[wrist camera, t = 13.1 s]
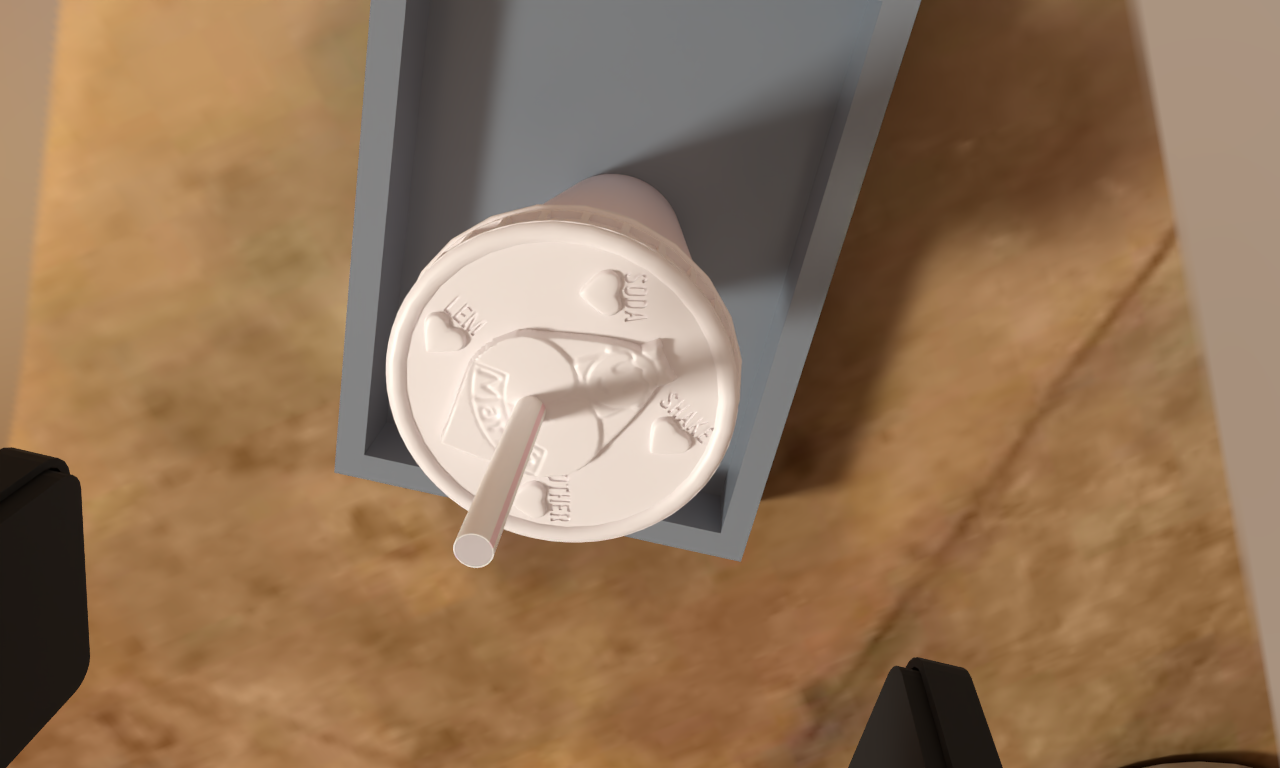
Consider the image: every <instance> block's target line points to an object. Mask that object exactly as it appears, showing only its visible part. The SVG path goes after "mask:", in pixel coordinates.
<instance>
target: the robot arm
mask: <svg viewBox="0 0 1280 768" xmlns="http://www.w3.org/2000/svg"><path fill="white" fill-rule="evenodd" d="M89 662H90V648H89V629H88V610H87V592H86V573H85V554H84V535H83V516H82V497H81V486H80V482H79V480H78V478H77V477H75V476H73V475H70V472H69V468H68V466H67V465H66V463H65V461H63V460H61V459H59V458H55V457H51V456H46V455H42V454H38V453H33V452H29V451H25V450H20V449H16V448H2V449H0V768H6V767H7V766H8V765H9V764H10V763H11V762H12V761H13V759H14V758H15V757H16V756H17V755H18V754H19V753H20V752H21V751H22V750H23V749H24V747H25V746H26V745H27V744H28V743H29V742H30V741H31V740H32V739H33V738H34V737H35V735H36V734H37V733H38V732H39V731H40V730H41V729H42V728H43V727H44V726H45V725H46V723H47V722H48V721H49V720H50V719H51V718H52V717H53V716H54V715H55V714H56V713H57V711H58V710H59V709H60V708H61V707H62V706H63V705H64V704H65V703H66V702H67V700H68V699H69V698H70V697H71V696H72V695H73V694H74V693H75V692H76V690H77V689H78V688H79V686H80V685H81V683H82V681H83V680H84V677H85V675H86V673H87V670H88V666H89ZM848 768H1003V767H1002V764H1001V761H1000V759H999V756H998V753H997V750H996V747H995V744H994V741H993V739H992V736H991V733H990V730H989V727H988V724H987V721H986V719H985V716H984V713H983V710H982V707H981V704H980V701H979V698H978V696H977V693H976V690H975V687H974V684H973V681H972V678H971V676H970V674H969V673H968V671H967V670H966V669H964V668H962V667H957V666H953V665H949V664H944V663H940V662H936V661H932V660H927V659H923V658H919V657H916V658H912V659H911V660H910V661H909V662H908V664H907V666H906V668H904V667H899V666H894V667H893V668H892V669H891V670H890V672H889V674H888V676H887V678H886V681H885V683H884V685H883V688H882V690H881V692H880V695H879V697H878V699H877V702H876V704H875V706H874V709H873V711H872V713H871V716H870V718H869V720H868V723H867V725H866V727H865V730H864V732H863V734H862V737H861V739H860V741H859V744H858V746H857V748H856V751H855V753H854V755H853V758H852V760H851V762H850V765H849V767H848ZM1143 768H1251V767H1247V766H1242V765H1238V764H1228V763H1214V762H1199V761H1197V762H1182V763H1166V764H1159V765H1154V766H1148V767H1143Z"/></svg>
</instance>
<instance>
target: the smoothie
mask: <svg viewBox="0 0 1280 768" xmlns="http://www.w3.org/2000/svg"><path fill="white" fill-rule="evenodd" d="M741 365H742V358H741V354H740V350H739V346H738V342H737V337H736V333H735V329H734V325H733V321H732V317H731V315H730V313H729V312H728V310H727V308H726V306H725V304H724V303H723V301H722V299H721V297H720V296H719V294H718V292H717V290H716V289H715V287H714V285H713V283H712V281H711V280H710V278H709V277H708V276H707V275H706V274H705V273H704V272H703V271H702V270H701V269H700V268H699V267H698V266H697V265H696V264H695V263H694V261H693V260H692V258H691V256H690V253H689V250H688V247H687V244H686V242H685V239H684V236H683V233H682V230H681V228H680V225H679V222H678V219H677V217H676V214H675V212H674V210H673V209H672V207H671V205H670V204H669V202H668V201H667V200H666V199H665V198H664V196H663V195H662V194H661V193H660V192H659V191H657V190H656V189H655V188H654V187H652V186H651V185H649V184H647V183H646V182H644V181H642V180H640V179H637V178H634V177H631V176H627V175H622V174H602V175H597V176H593V177H590V178H587V179H585V180H582V181H580V182H579V183H577V184H575V185H574V186H572V187H570V188H569V189H567V190H565V191H564V192H562V193H560V194H559V195H557V196H555V197H554V198H552V199H550V200H549V201H547V202H545V203H544V204H542V205H533V206H529V207H525V208H521V209H517V210H513V211H510V212H506V213H502V214H498V215H494V216H491V217H489V218H487V219H485V220H484V221H482V222H480V223H478V224H477V225H475V226H473V227H472V228H470V229H468V230H466V231H465V232H463V233H461V234H460V235H458V236H456V237H454V238H453V239H451V240H450V241H449V242H448V243H447V244H446V246H445V247H444V248H443V249H442V250H441V251H440V252H439V253H438V254H437V255H436V256H435V257H434V258H433V259H432V260H431V262H430V263H429V264H428V265H427V266H426V267H425V268H424V269H423V270H422V271H421V273H420V275H419V277H418V279H417V281H416V283H415V284H414V285H413V287H412V288H411V290H410V291H409V293H408V294H407V296H406V297H405V299H404V301H403V303H402V305H401V307H400V309H399V311H398V313H397V315H396V318H395V321H394V323H393V326H392V330H391V334H390V337H389V341H388V348H387V355H386V385H387V393H388V398H389V404H390V407H391V411H392V414H393V418H394V421H395V423H396V426H397V428H398V431H399V433H400V435H401V437H402V439H403V441H404V443H405V445H406V447H407V449H408V450H409V452H410V453H411V455H412V457H413V458H414V460H415V461H416V463H417V464H418V465H419V466H420V468H421V469H422V470H423V472H424V473H425V474H426V475H427V476H428V477H429V479H430V480H431V481H432V482H433V483H434V484H435V485H436V486H437V487H438V488H439V489H440V490H441V491H443V492H444V493H445V494H446V495H447V496H448V497H449V498H451V499H452V500H453V501H455V502H456V503H457V504H459V505H460V506H461V507H463V508H464V509H466V510H467V511H468V513H467V515H466V518H465V520H464V522H463V524H462V527H461V529H460V531H459V533H458V536H457V538H456V540H455V542H454V546H453V551H454V554H455V557H456V558H457V559H458V560H459V561H460V562H461V563H462V564H464V565H466V566H469V567H474V568H479V567H483V566H486V565H487V564H489V563H490V562H491V561H492V559H493V556H494V554H495V551H496V548H497V546H498V543H499V540H500V537H501V535H502V532H503V529H505V530H508V531H511V532H514V533H517V534H520V535H524V536H528V537H532V538H536V539H542V540H548V541H558V542H592V541H601V540H607V539H613V538H617V537H621V536H625V535H629V534H632V533H634V532H637V531H640V530H643V529H645V528H647V527H650V526H652V525H654V524H656V523H658V522H660V521H662V520H663V519H665V518H667V517H668V516H670V515H672V514H673V513H675V512H676V511H677V510H679V509H680V508H682V507H683V506H684V505H685V504H686V503H688V502H689V501H690V500H691V499H692V498H693V497H694V496H696V494H697V493H698V492H699V491H700V490H701V489H702V488H703V487H704V486H705V485H706V483H707V482H708V481H709V479H710V478H711V477H712V475H713V474H714V473H715V471H716V470H717V468H718V466H719V465H720V463H721V461H722V460H723V457H724V455H725V453H726V451H727V449H728V447H729V444H730V441H731V438H732V435H733V432H734V428H735V424H736V419H737V413H738V405H739V402H740V385H741Z"/></svg>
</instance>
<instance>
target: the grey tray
mask: <svg viewBox="0 0 1280 768" xmlns="http://www.w3.org/2000/svg"><path fill="white" fill-rule="evenodd" d="M920 3H921V0H371V6H370V19H369V32H368V45H367V58H366V71H365V84H364V97H363V110H362V123H361V136H360V149H359V162H358V175H357V188H356V201H355V214H354V227H353V239H352V252H351V265H350V278H349V291H348V304H347V317H346V330H345V343H344V356H343V369H342V382H341V395H340V408H339V421H338V434H337V447H336V460H335V473H339V474H344V475H348V476H353V477H358V478H362V479H367V480H371V481H376V482H380V483H385V484H389V485H394V486H399V487H403V488H408V489H412V490H417V491H421V492H426V493H430V494H435V495H440V496H444V497H448V496H447V495H446V494H445V493H444V492H443V491H441V490H440V489H439V488H438V487H437V486H436V485H435V484H434V483H433V482H432V481H431V480H430V479H429V477H428V476H427V475H426V474H425V473H424V472H423V470H422V469H421V468H420V466H419V465H418V464H417V463H416V461H415V460H414V458H413V457H412V455H411V453H410V452H409V450H408V449H407V447H406V445H405V443H404V441H403V439H402V437H401V435H400V433H399V431H398V428H397V426H396V423H395V421H394V418H393V414H392V411H391V407H390V404H389V398H388V393H387V385H386V355H387V348H388V341H389V337H390V334H391V330H392V326H393V323H394V321H395V318H396V315H397V313H398V311H399V309H400V307H401V305H402V303H403V301H404V299H405V297H406V296H407V294H408V293H409V291H410V290H411V288H412V287H413V285H414V284H415V283H416V281H417V279H418V277H419V275H420V273H421V271H422V270H423V269H424V268H425V267H426V266H427V265H428V264H429V263H430V262H431V260H432V259H433V258H434V257H435V256H436V255H437V254H438V253H439V252H440V251H441V250H442V249H443V248H444V247H445V246H446V244H447V243H448V242H449V241H450V240H451V239H453V238H454V237H456V236H458V235H460V234H461V233H463V232H465V231H466V230H468V229H470V228H472V227H473V226H475V225H477V224H478V223H480V222H482V221H484V220H485V219H487V218H489V217H491V216H494V215H498V214H502V213H506V212H510V211H513V210H517V209H521V208H525V207H529V206H533V205H542V204H544V203H545V202H547V201H549V200H550V199H552V198H554V197H555V196H557V195H559V194H560V193H562V192H564V191H565V190H567V189H569V188H570V187H572V186H574V185H575V184H577V183H579V182H580V181H582V180H585V179H587V178H590V177H593V176H597V175H602V174H622V175H627V176H631V177H634V178H637V179H640V180H642V181H644V182H646V183H647V184H649V185H651V186H652V187H654V188H655V189H656V190H657V191H659V192H660V193H661V194H662V195H663V196H664V198H665V199H666V200H667V201H668V202H669V204H670V205H671V207H672V209H673V210H674V212H675V214H676V217H677V219H678V222H679V225H680V228H681V230H682V233H683V236H684V239H685V242H686V244H687V247H688V250H689V253H690V256H691V258H692V260H693V261H694V263H695V264H696V265H697V266H698V267H699V268H700V269H701V270H702V271H703V272H704V273H705V274H706V275H707V276H708V277H709V278H710V280H711V281H712V283H713V285H714V287H715V289H716V290H717V292H718V294H719V296H720V297H721V299H722V301H723V303H724V304H725V306H726V308H727V310H728V312H729V313H730V315H731V317H732V321H733V325H734V329H735V333H736V337H737V342H738V346H739V350H740V354H741V358H742V365H741V385H740V402H739V405H738V413H737V419H736V424H735V428H734V432H733V435H732V438H731V441H730V444H729V447H728V449H727V451H726V453H725V455H724V457H723V460H722V461H721V463H720V465H719V466H718V468H717V470H716V471H715V473H714V474H713V475H712V477H711V478H710V479H709V481H708V482H707V483H706V485H705V486H704V487H703V488H702V489H701V490H700V491H699V492H698V493H697V494H696V496H694V497H693V498H692V499H691V500H690V501H689V502H688V503H686V504H685V505H684V506H683V507H682V508H680V509H679V510H677V511H676V512H675V513H673V514H672V515H670V516H668V517H667V518H665V519H663V520H662V521H660V522H658V523H656V524H654V525H652V526H650V527H647V528H645V529H643V530H640V531H637V532H634V533H632V534H629V535H625V536H626V537H631V538H635V539H640V540H644V541H649V542H653V543H658V544H663V545H667V546H672V547H676V548H681V549H685V550H690V551H694V552H699V553H704V554H708V555H713V556H717V557H722V558H726V559H731V560H735V561H740V562H741V559H742V556H743V553H744V550H745V547H746V544H747V541H748V537H749V534H750V531H751V528H752V525H753V522H754V519H755V516H756V513H757V509H758V506H759V503H760V500H761V497H762V494H763V491H764V488H765V485H766V482H767V478H768V475H769V472H770V469H771V466H772V463H773V460H774V457H775V454H776V450H777V447H778V444H779V441H780V438H781V435H782V432H783V429H784V426H785V422H786V419H787V416H788V413H789V410H790V407H791V404H792V401H793V398H794V394H795V391H796V388H797V385H798V382H799V379H800V376H801V373H802V370H803V366H804V363H805V360H806V357H807V354H808V351H809V348H810V345H811V342H812V338H813V335H814V332H815V329H816V326H817V323H818V320H819V317H820V314H821V310H822V307H823V304H824V301H825V298H826V295H827V292H828V289H829V286H830V283H831V279H832V276H833V273H834V270H835V267H836V264H837V261H838V258H839V255H840V251H841V248H842V245H843V242H844V239H845V236H846V233H847V230H848V227H849V223H850V220H851V217H852V214H853V211H854V208H855V205H856V202H857V199H858V195H859V192H860V189H861V186H862V183H863V180H864V177H865V174H866V171H867V167H868V164H869V161H870V158H871V155H872V152H873V149H874V146H875V143H876V139H877V136H878V133H879V130H880V127H881V124H882V121H883V118H884V115H885V111H886V108H887V105H888V102H889V99H890V96H891V93H892V90H893V87H894V83H895V80H896V77H897V74H898V71H899V68H900V65H901V62H902V59H903V56H904V52H905V49H906V46H907V43H908V40H909V37H910V34H911V31H912V28H913V24H914V21H915V18H916V15H917V12H918V9H919V6H920Z"/></svg>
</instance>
